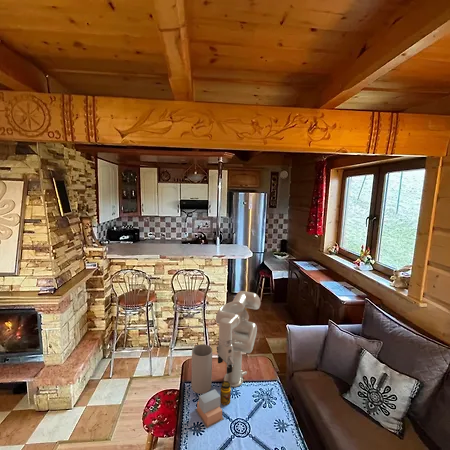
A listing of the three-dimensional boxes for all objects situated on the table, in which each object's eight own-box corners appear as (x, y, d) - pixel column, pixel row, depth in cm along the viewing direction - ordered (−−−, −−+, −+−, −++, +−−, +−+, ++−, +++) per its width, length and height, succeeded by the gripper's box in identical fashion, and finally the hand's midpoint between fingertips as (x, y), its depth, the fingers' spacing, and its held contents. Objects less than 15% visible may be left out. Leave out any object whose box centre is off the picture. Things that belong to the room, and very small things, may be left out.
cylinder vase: (187, 391, 164) (188, 353, 161) (197, 377, 176) (197, 342, 172) (206, 397, 160) (207, 358, 156) (214, 383, 171) (215, 347, 168)
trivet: (211, 402, 156) (211, 401, 156) (224, 420, 144) (224, 419, 144) (194, 410, 150) (194, 409, 150) (206, 429, 138) (206, 428, 138)
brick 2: (197, 409, 149) (197, 401, 149) (211, 403, 154) (211, 395, 154) (207, 426, 139) (207, 417, 139) (222, 418, 144) (222, 410, 144)
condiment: (229, 408, 152) (229, 389, 150) (215, 404, 154) (215, 385, 153) (232, 399, 159) (233, 380, 157) (219, 395, 161) (219, 377, 160)
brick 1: (214, 398, 151) (215, 389, 151) (220, 406, 146) (220, 396, 146) (198, 405, 146) (199, 395, 145) (204, 413, 141) (204, 403, 140)
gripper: (239, 346, 146) (238, 374, 149) (223, 331, 160) (222, 356, 163) (228, 350, 142) (227, 379, 145) (212, 334, 156) (211, 361, 159)
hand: (224, 367), depth 154 cm, fingers open, 9 cm apart
